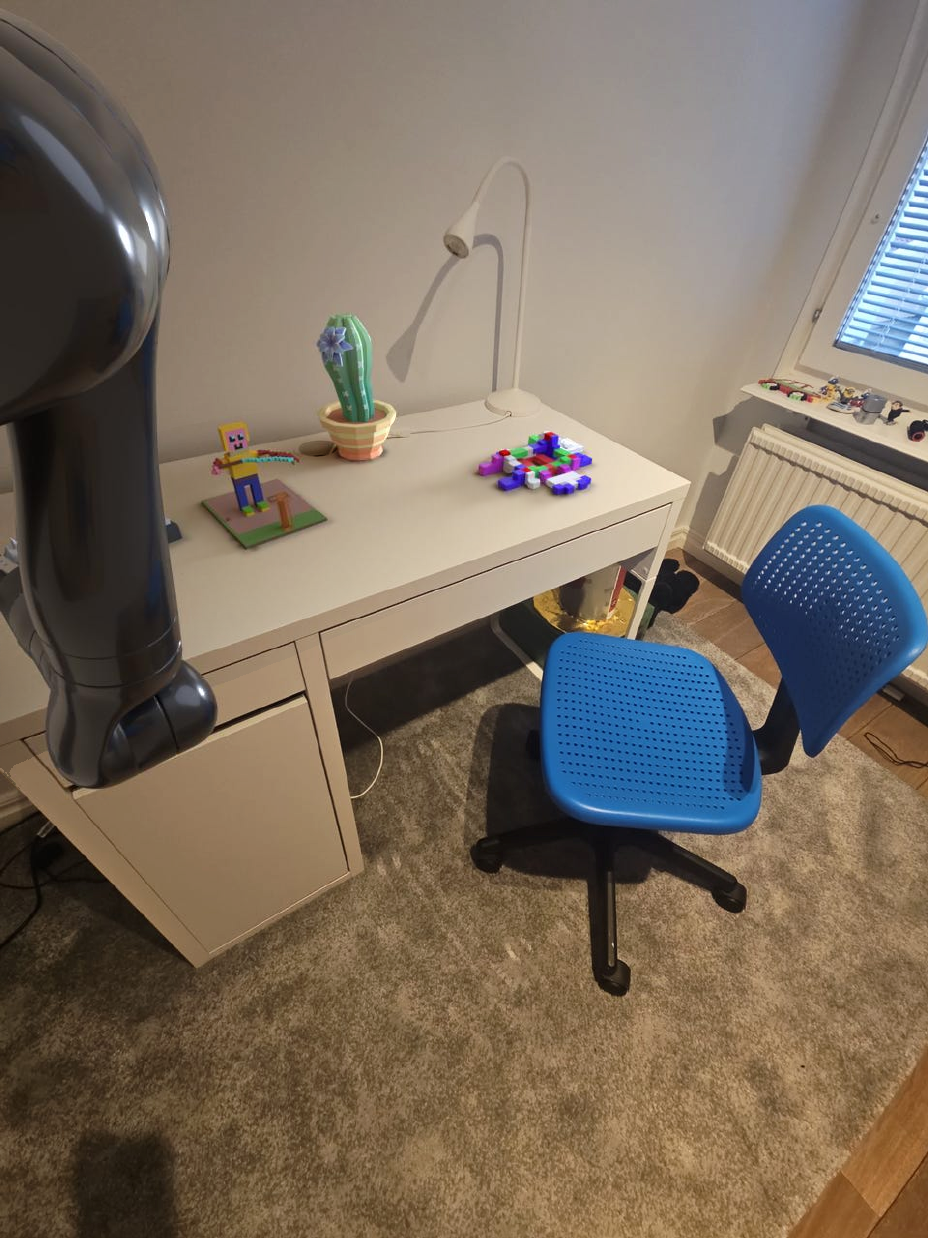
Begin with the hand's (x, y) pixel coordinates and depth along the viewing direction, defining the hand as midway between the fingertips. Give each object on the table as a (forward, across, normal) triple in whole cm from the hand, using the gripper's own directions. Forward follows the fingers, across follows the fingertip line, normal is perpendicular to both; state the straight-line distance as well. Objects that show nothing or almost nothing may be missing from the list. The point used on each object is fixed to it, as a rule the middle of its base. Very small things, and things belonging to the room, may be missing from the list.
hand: (10, 539), depth 57 cm
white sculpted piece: (-3, 0, +6) cm, 7 cm away
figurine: (+13, -34, +15) cm, 39 cm away
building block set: (-9, -83, +14) cm, 85 cm away
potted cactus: (+22, -61, +14) cm, 66 cm away
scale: (+19, -14, +15) cm, 28 cm away
